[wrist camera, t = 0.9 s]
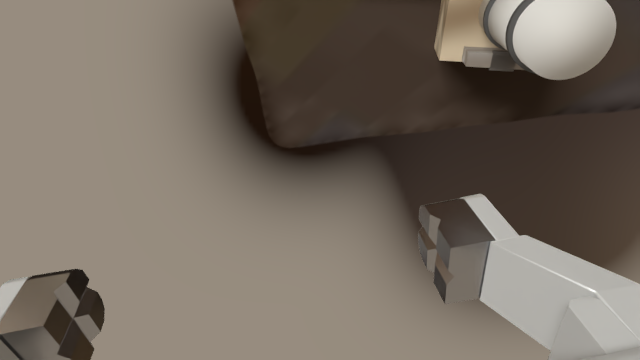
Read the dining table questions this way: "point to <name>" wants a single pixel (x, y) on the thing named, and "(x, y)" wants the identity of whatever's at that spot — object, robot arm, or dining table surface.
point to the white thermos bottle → (550, 33)
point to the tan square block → (468, 38)
